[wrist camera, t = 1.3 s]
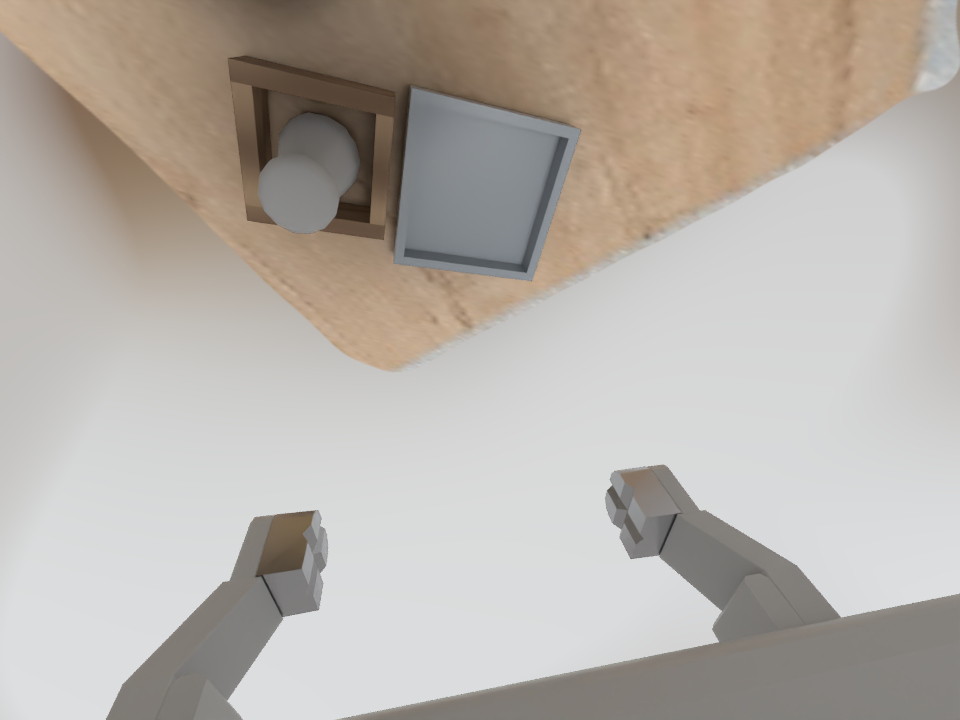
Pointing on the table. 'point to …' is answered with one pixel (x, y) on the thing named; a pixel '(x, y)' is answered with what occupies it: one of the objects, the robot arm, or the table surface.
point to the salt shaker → (308, 173)
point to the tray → (478, 185)
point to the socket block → (261, 75)
